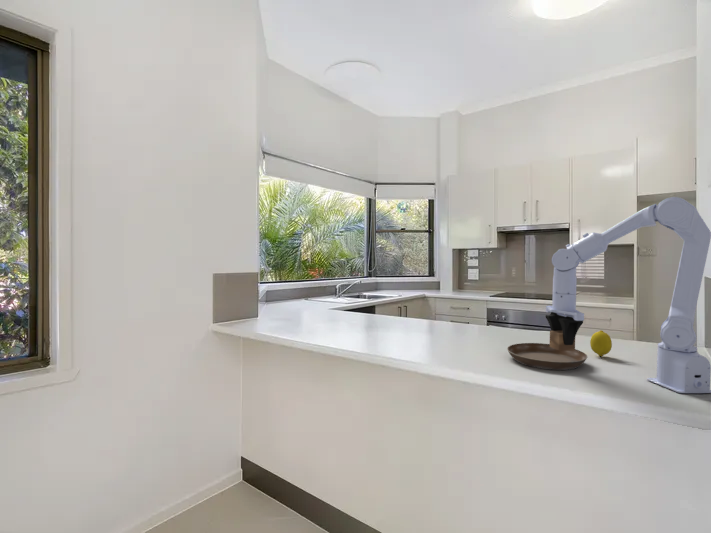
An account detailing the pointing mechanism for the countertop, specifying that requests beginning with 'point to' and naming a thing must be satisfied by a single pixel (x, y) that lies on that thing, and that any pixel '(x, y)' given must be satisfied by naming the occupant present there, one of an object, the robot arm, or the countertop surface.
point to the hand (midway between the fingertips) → (562, 342)
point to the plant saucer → (546, 356)
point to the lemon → (601, 343)
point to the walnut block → (560, 342)
